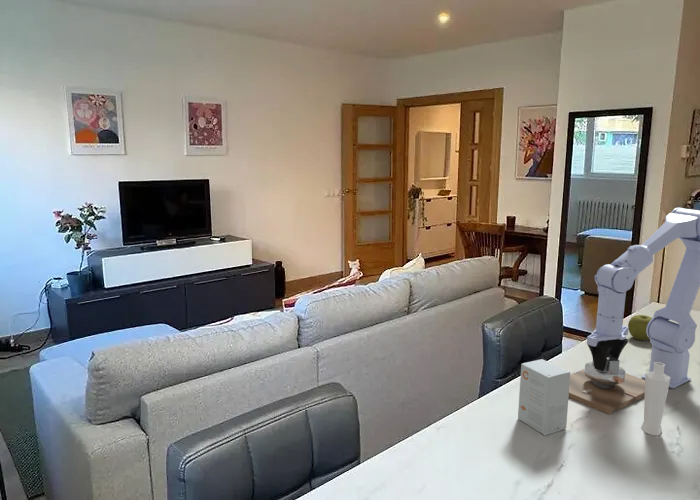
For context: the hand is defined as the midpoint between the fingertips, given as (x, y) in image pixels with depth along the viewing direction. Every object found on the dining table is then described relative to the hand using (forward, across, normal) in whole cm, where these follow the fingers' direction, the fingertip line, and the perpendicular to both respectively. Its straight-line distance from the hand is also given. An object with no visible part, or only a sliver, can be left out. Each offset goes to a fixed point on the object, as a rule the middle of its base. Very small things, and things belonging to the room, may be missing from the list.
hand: (604, 367), depth 130 cm
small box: (+6, -27, -2) cm, 28 cm away
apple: (+6, +43, +13) cm, 45 cm away
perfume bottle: (+6, -10, -17) cm, 21 cm away
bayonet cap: (+2, 0, -1) cm, 2 cm away
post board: (+6, 0, 0) cm, 6 cm away
